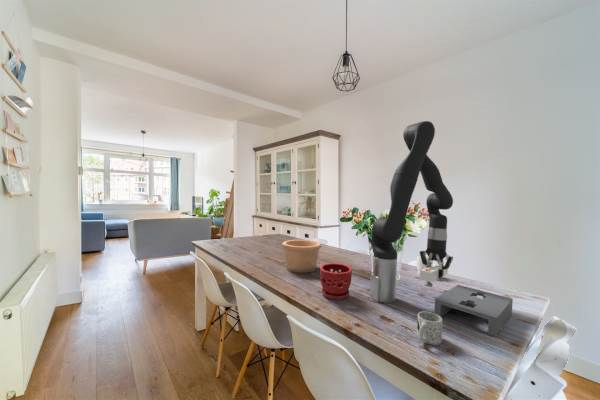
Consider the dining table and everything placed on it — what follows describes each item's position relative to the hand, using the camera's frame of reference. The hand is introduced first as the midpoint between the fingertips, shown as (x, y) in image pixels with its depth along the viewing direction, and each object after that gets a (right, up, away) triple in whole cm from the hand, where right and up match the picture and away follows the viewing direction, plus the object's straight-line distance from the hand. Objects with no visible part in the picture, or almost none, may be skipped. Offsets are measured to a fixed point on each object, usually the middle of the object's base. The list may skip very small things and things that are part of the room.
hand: (434, 276), depth 115 cm
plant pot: (-45, -6, -7) cm, 46 cm away
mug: (-23, -8, -39) cm, 45 cm away
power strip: (0, -3, 0) cm, 3 cm away
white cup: (+7, -7, +25) cm, 27 cm away
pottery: (-60, -5, +31) cm, 67 cm away
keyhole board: (+3, -8, -21) cm, 23 cm away
